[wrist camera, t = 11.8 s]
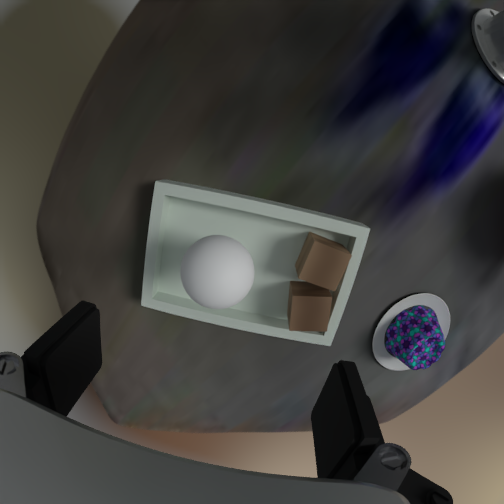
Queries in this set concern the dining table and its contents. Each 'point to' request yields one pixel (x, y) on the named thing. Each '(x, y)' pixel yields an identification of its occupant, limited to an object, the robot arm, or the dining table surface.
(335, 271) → the walnut block
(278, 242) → the tray
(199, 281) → the lightbulb
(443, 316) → the pudding
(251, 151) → the dining table surface
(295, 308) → the walnut block
